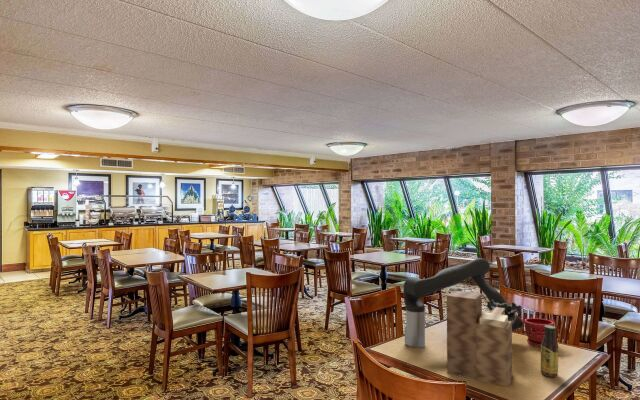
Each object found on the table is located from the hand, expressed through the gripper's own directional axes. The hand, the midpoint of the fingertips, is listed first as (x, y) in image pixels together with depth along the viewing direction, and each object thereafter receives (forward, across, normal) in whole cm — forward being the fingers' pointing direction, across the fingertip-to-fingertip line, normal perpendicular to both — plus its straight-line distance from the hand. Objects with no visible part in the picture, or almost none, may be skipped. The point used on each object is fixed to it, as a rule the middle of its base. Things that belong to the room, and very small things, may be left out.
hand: (502, 302), depth 175 cm
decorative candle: (-34, -27, +10) cm, 45 cm away
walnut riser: (+6, -6, +33) cm, 34 cm away
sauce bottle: (-7, +18, +26) cm, 32 cm away
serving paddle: (+13, 0, +12) cm, 18 cm away
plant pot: (-40, +12, +7) cm, 42 cm away
